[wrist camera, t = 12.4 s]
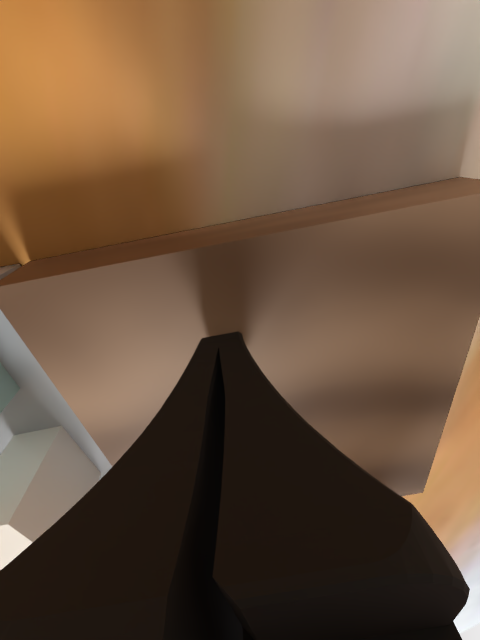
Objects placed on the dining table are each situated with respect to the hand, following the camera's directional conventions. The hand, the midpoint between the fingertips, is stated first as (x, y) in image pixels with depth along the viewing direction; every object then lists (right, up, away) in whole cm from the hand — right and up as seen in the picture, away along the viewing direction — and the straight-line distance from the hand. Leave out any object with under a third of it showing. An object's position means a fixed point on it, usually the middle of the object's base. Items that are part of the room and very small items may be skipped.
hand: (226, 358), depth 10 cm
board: (+2, -2, +5) cm, 6 cm away
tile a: (-8, -7, +4) cm, 12 cm away
